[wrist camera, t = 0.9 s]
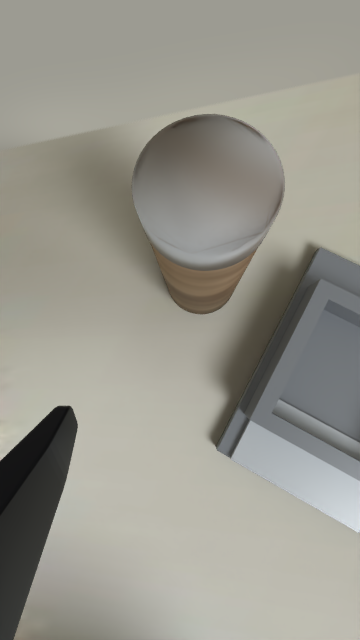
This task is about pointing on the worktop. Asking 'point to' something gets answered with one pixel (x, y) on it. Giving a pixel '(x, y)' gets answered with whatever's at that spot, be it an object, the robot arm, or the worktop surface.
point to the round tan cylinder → (206, 204)
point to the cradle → (308, 396)
